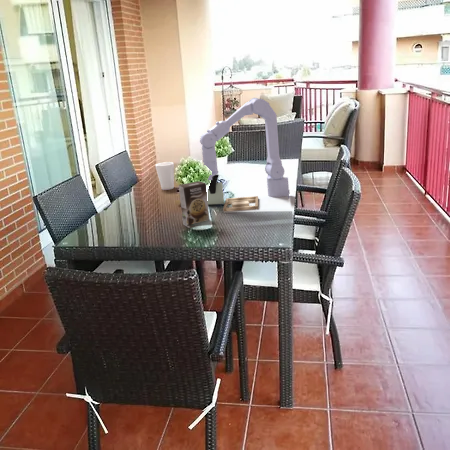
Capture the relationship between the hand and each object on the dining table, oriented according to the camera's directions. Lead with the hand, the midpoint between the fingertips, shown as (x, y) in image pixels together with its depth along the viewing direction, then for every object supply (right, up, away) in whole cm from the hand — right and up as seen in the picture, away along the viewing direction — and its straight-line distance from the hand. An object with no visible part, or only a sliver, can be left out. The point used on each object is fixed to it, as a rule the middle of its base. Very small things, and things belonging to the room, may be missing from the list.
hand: (213, 192), depth 207 cm
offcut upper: (+12, -7, -8) cm, 16 cm away
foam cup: (-25, +5, +45) cm, 51 cm away
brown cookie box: (-6, -14, -19) cm, 24 cm away
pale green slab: (+1, -5, +2) cm, 5 cm away
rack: (+12, -7, -4) cm, 14 cm away
